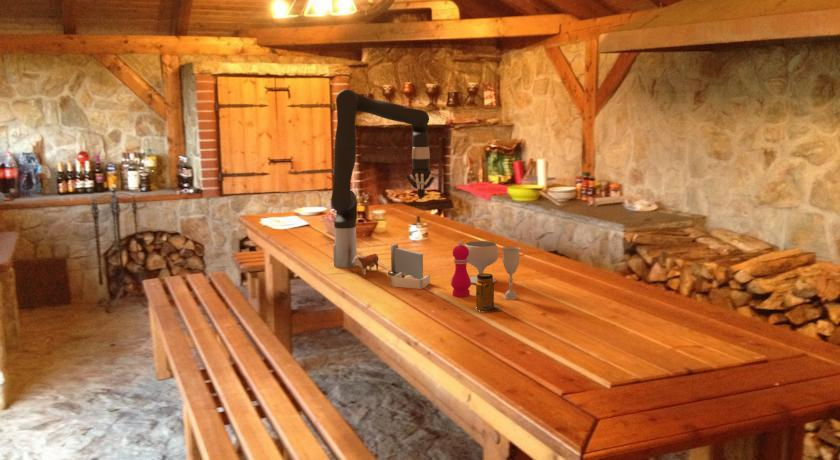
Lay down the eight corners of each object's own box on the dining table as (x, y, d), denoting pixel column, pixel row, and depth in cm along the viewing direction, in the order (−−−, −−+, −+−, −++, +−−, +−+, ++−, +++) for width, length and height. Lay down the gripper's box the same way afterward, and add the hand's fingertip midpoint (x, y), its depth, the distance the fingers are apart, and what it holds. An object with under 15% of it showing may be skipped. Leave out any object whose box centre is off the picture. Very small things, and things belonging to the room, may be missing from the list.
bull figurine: (351, 275, 293) (350, 255, 292) (374, 269, 303) (374, 250, 301) (358, 276, 290) (357, 257, 289) (382, 270, 300) (381, 251, 298)
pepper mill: (469, 298, 256) (469, 243, 252) (449, 297, 257) (449, 242, 254) (472, 292, 263) (472, 239, 259) (452, 292, 264) (452, 239, 261)
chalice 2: (499, 295, 259) (499, 246, 256) (517, 294, 259) (518, 246, 256) (503, 300, 251) (503, 250, 248) (522, 300, 252) (522, 250, 249)
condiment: (472, 306, 245) (472, 272, 243) (496, 305, 246) (496, 271, 244) (478, 312, 238) (478, 278, 236) (502, 311, 239) (502, 276, 237)
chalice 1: (502, 278, 284) (502, 241, 281) (494, 286, 271) (494, 248, 268) (468, 275, 289) (468, 239, 286) (458, 284, 276) (458, 246, 273)
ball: (402, 286, 274) (401, 276, 274) (406, 284, 278) (405, 274, 277) (411, 286, 272) (410, 276, 272) (416, 284, 276) (415, 274, 276)
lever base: (385, 274, 292) (385, 273, 292) (391, 271, 298) (391, 269, 298) (399, 276, 290) (399, 274, 290) (404, 272, 296) (404, 270, 296)
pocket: (391, 286, 274) (391, 277, 273) (400, 280, 282) (400, 272, 281) (422, 288, 269) (421, 279, 269) (430, 283, 277) (430, 274, 277)
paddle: (390, 271, 294) (389, 244, 292) (395, 270, 296) (395, 244, 294) (418, 279, 279) (418, 252, 277) (424, 278, 281) (424, 251, 279)
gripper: (403, 158, 303) (403, 198, 306) (432, 158, 298) (432, 199, 301) (409, 156, 310) (410, 196, 313) (438, 157, 305) (438, 197, 308)
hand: (421, 197), depth 307 cm, fingers closed
